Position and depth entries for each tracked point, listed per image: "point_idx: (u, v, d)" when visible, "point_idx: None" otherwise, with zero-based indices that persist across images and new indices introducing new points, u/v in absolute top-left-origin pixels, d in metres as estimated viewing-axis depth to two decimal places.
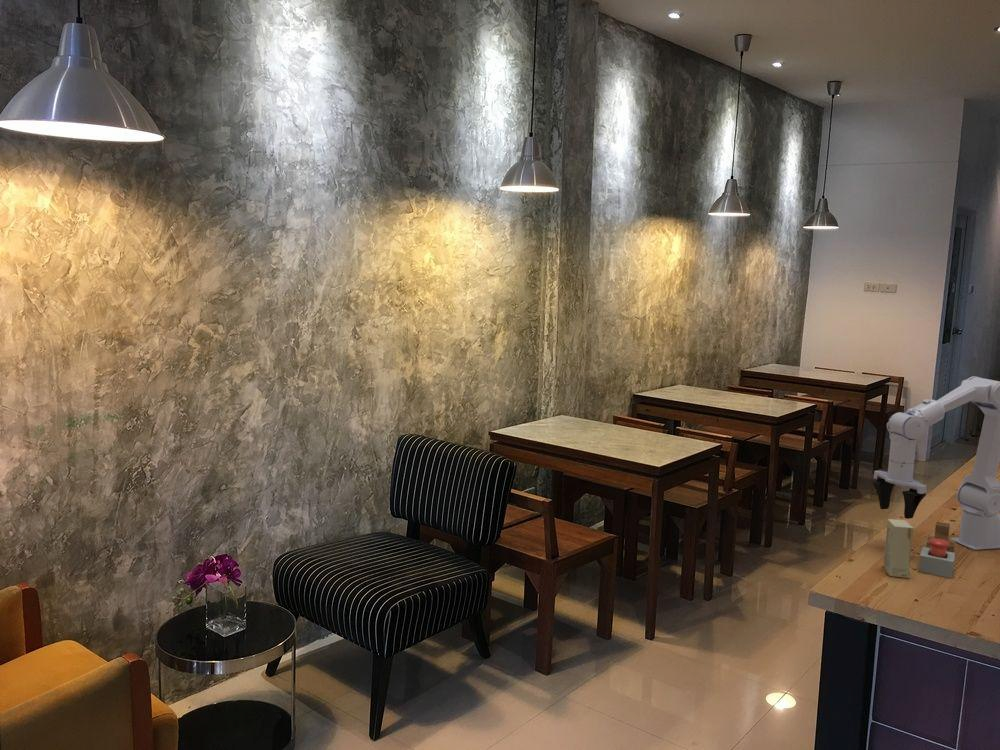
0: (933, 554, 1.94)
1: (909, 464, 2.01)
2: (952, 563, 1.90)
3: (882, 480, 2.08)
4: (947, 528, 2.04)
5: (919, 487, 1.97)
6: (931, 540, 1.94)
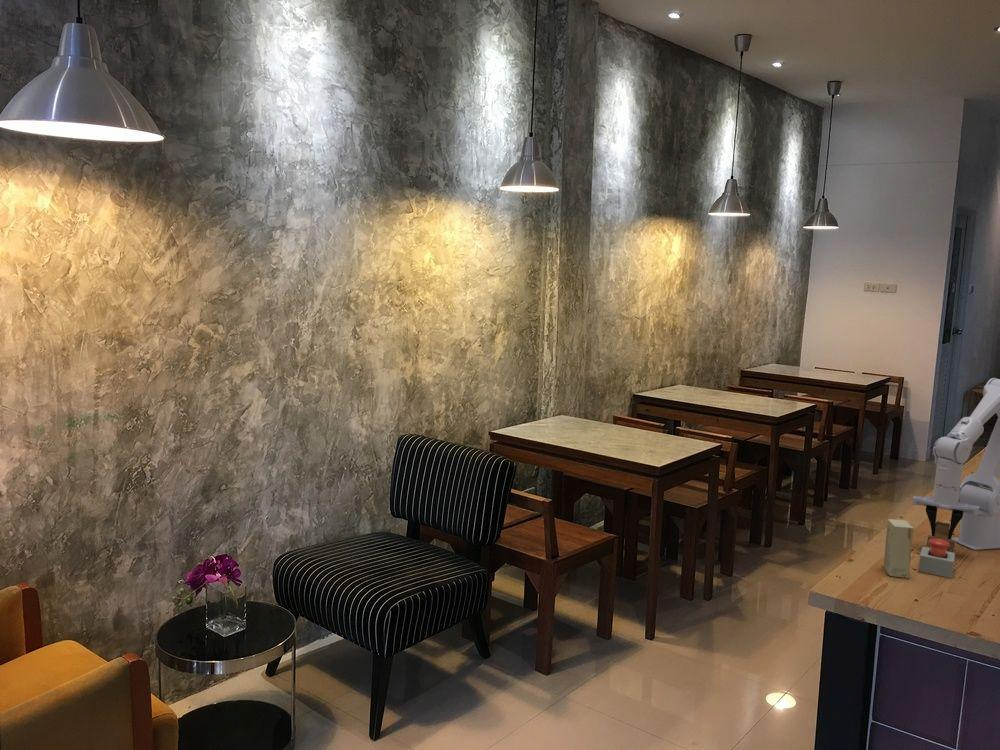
0: (933, 554, 1.94)
1: (960, 487, 2.02)
2: (952, 563, 1.90)
3: None
4: (947, 528, 2.04)
5: (976, 509, 2.00)
6: (931, 540, 1.94)
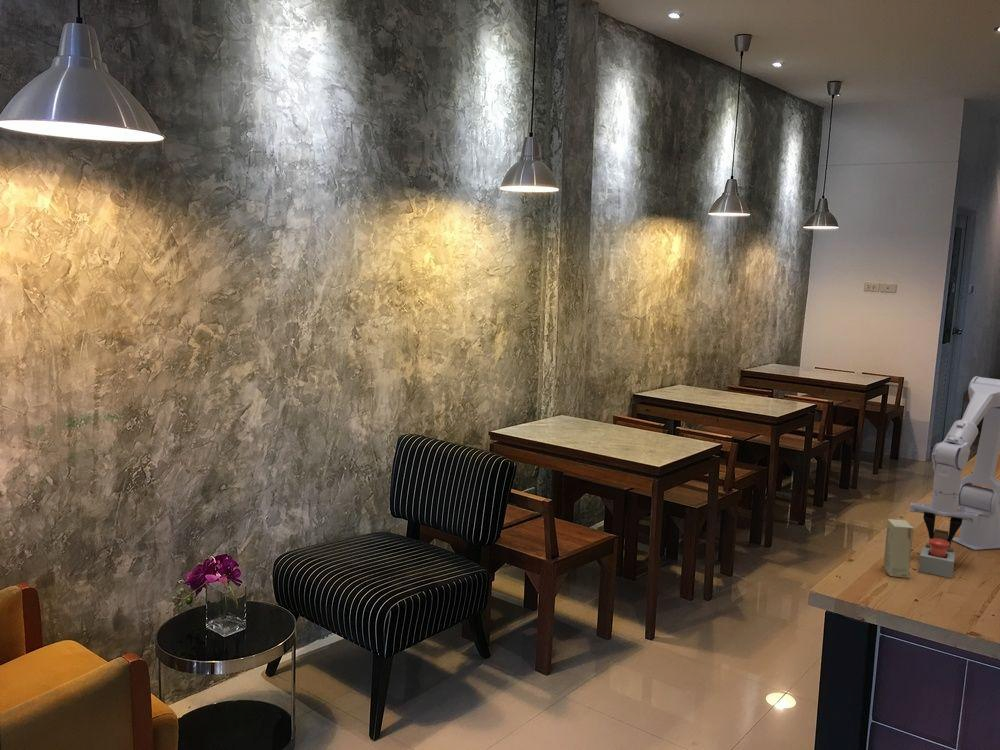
0: (933, 554, 1.94)
1: (958, 494, 1.96)
2: (952, 563, 1.90)
3: None
4: (945, 536, 1.98)
5: (975, 516, 1.94)
6: (931, 540, 1.94)
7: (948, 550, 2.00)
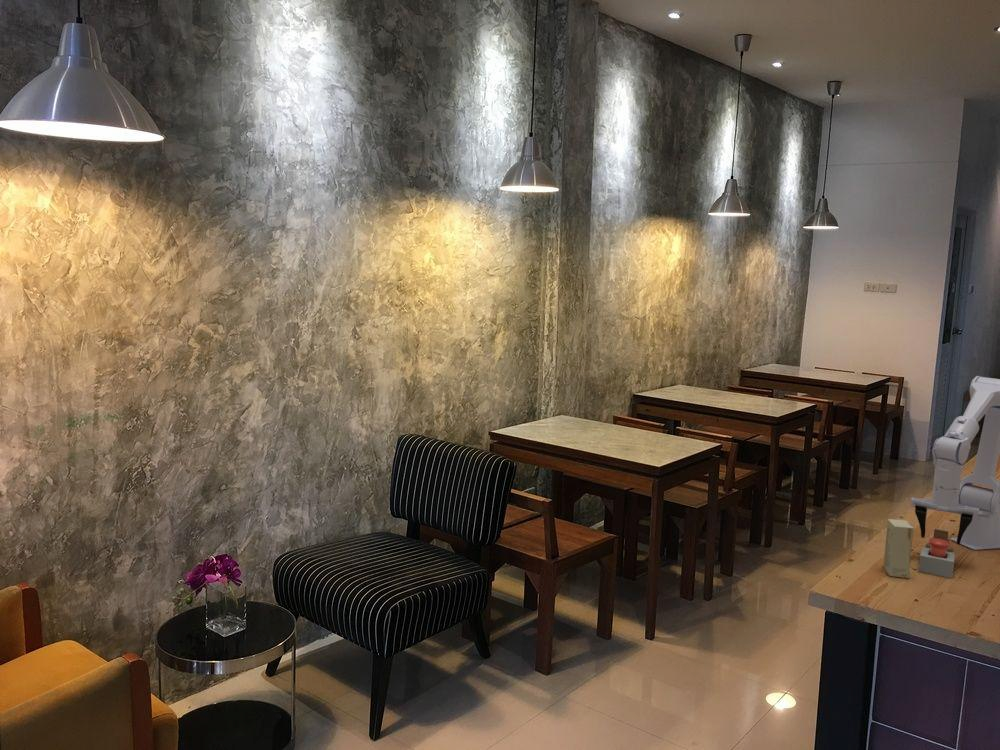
0: (933, 554, 1.94)
1: (959, 489, 1.96)
2: (952, 563, 1.90)
3: (923, 508, 2.00)
4: (945, 536, 1.98)
5: (976, 511, 1.94)
6: (931, 540, 1.94)
7: (948, 550, 2.00)
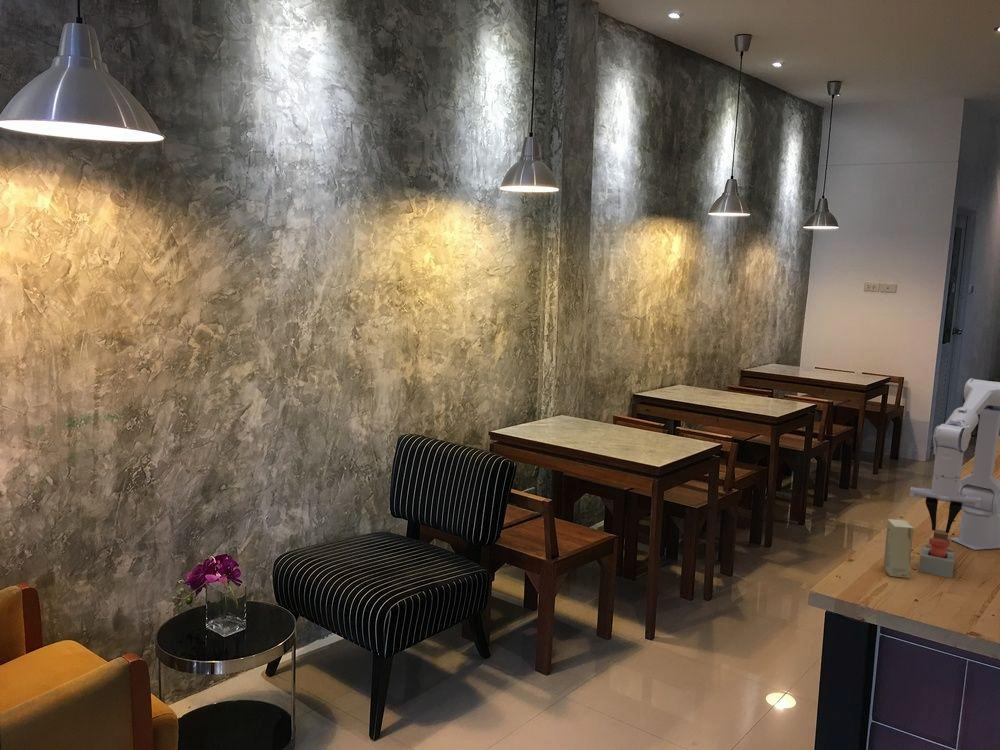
0: (933, 554, 1.94)
1: (960, 478, 1.90)
2: (952, 563, 1.90)
3: None
4: (945, 536, 1.98)
5: (978, 501, 1.88)
6: (931, 540, 1.94)
7: (948, 550, 2.00)
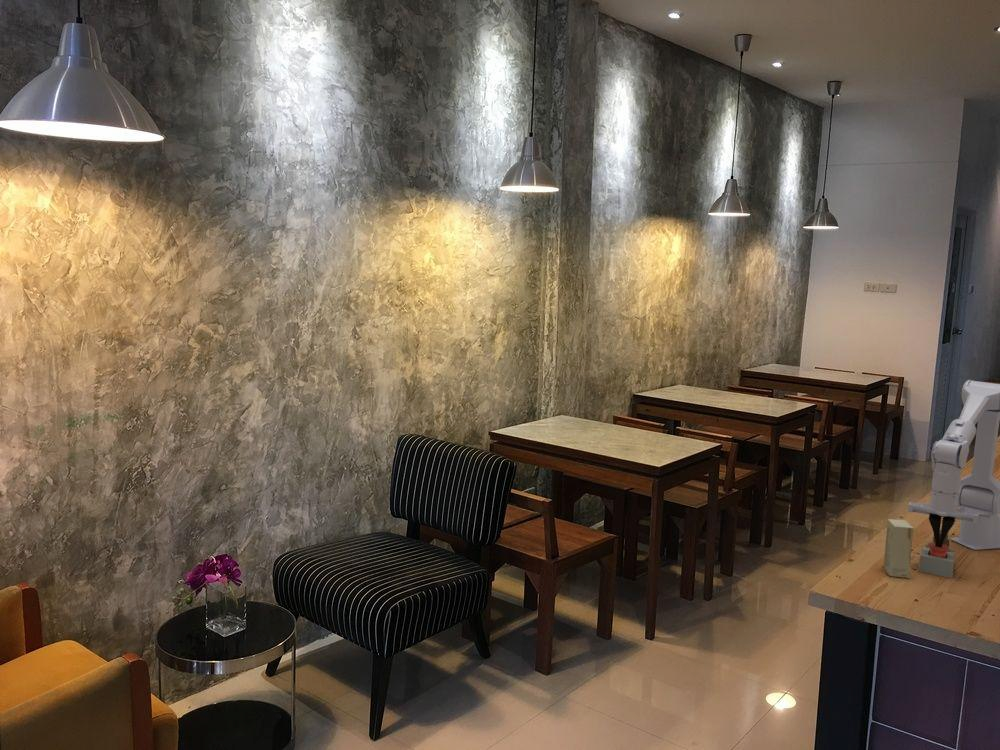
0: None
1: (958, 493, 1.90)
2: (952, 563, 1.90)
3: None
4: None
5: (976, 517, 1.88)
6: (931, 544, 1.95)
7: None
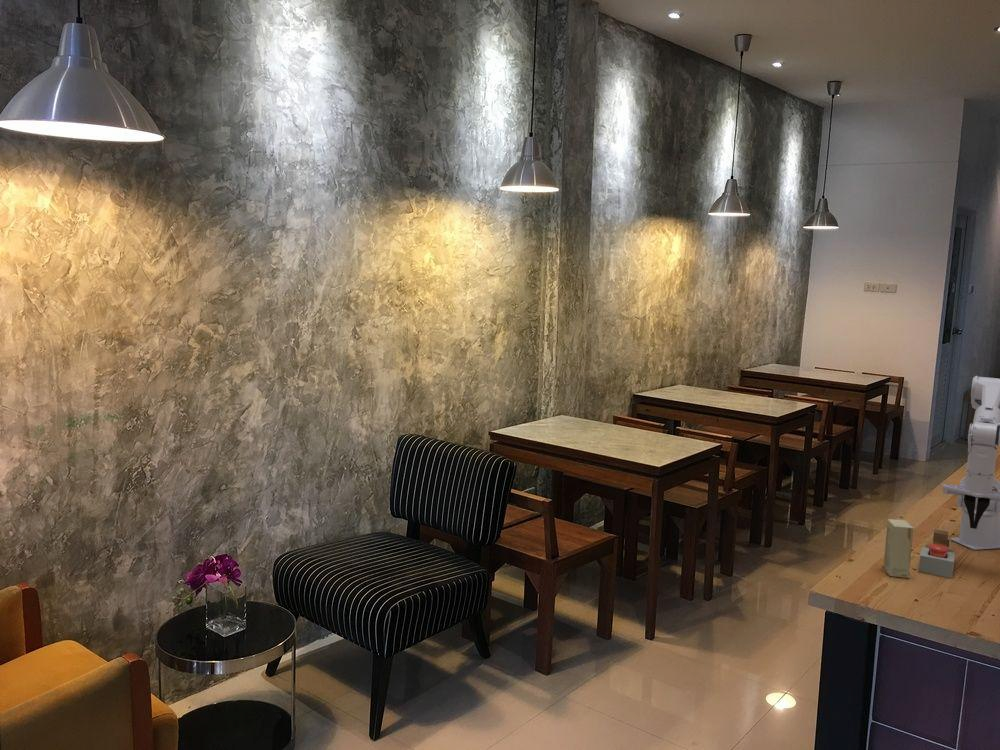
0: None
1: (993, 475, 1.91)
2: (952, 563, 1.90)
3: None
4: (945, 536, 1.98)
5: None
6: (930, 545, 1.95)
7: None
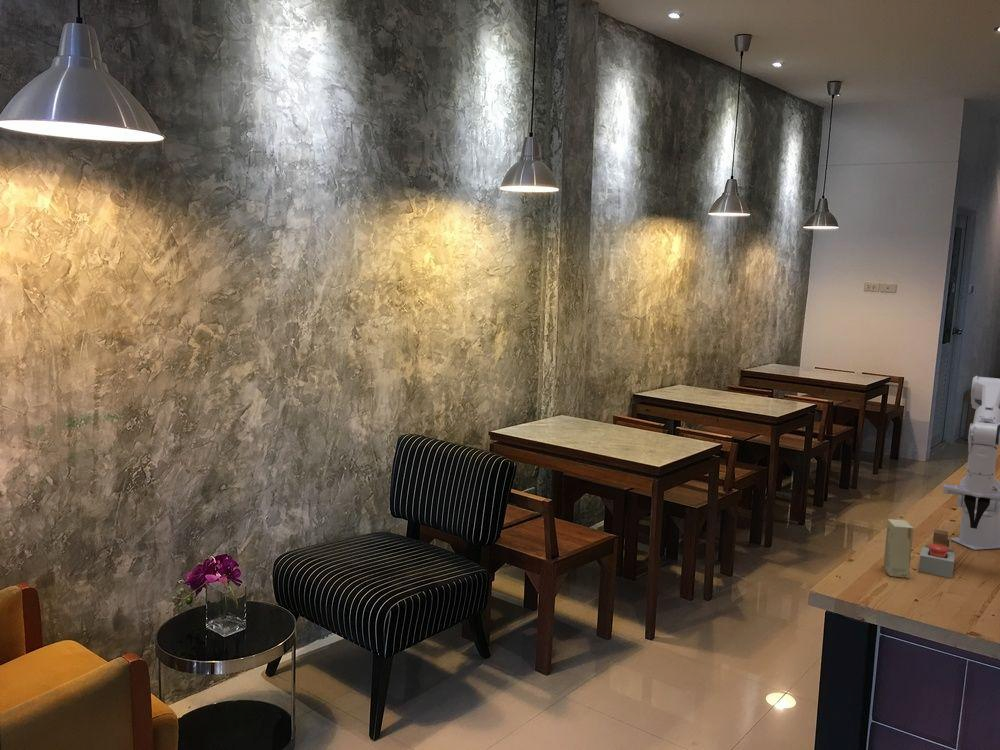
0: None
1: None
2: (952, 563, 1.90)
3: None
4: (945, 536, 1.98)
5: None
6: (930, 545, 1.95)
7: None
